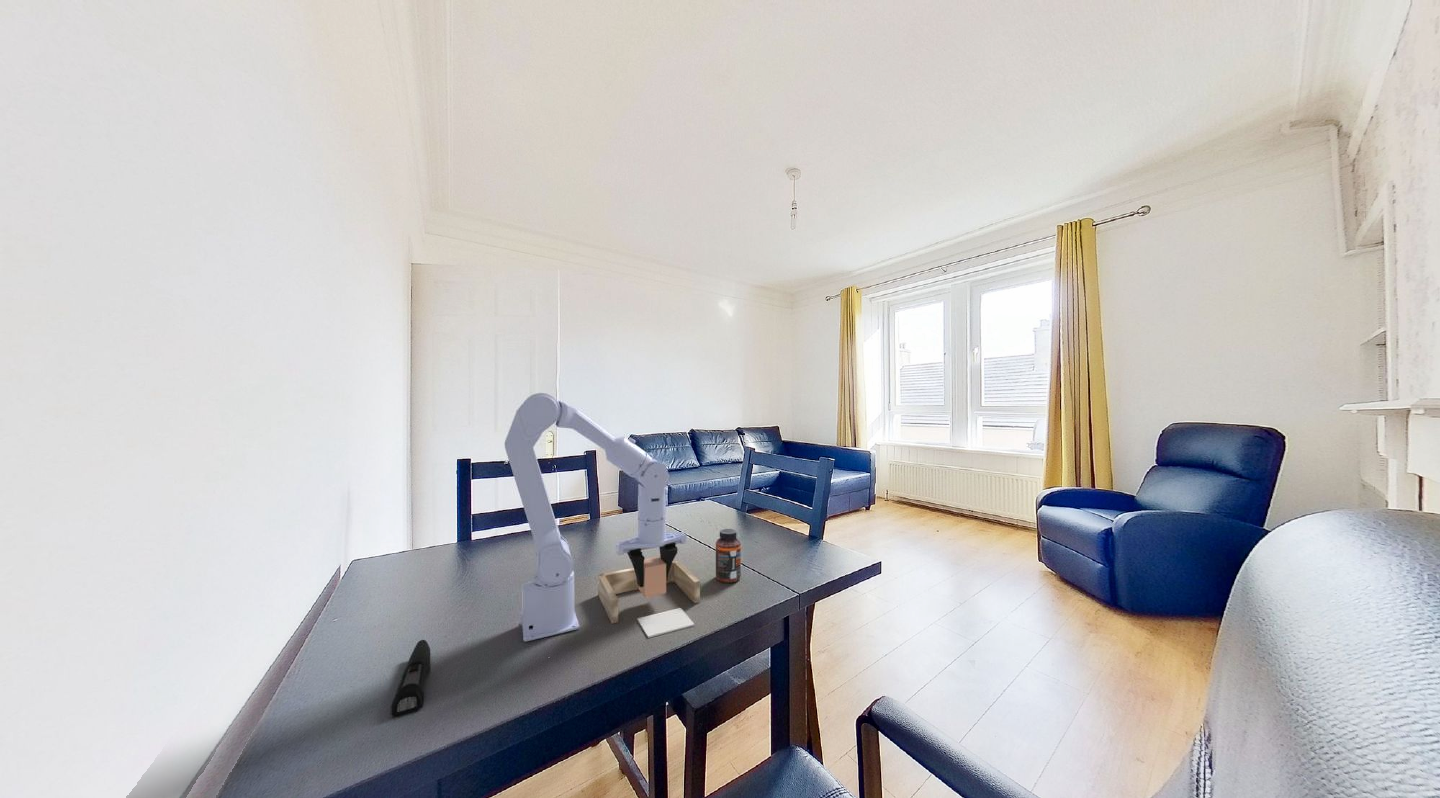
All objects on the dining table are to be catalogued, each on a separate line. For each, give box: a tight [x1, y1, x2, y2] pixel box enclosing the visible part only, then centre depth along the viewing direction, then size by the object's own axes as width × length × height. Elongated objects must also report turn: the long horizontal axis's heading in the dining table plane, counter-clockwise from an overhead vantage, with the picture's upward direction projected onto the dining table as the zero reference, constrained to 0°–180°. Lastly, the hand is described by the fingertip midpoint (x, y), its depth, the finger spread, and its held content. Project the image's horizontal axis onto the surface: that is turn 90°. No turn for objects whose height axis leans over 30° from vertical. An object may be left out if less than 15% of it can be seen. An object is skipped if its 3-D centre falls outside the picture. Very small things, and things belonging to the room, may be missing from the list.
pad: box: [636, 607, 695, 639], centre depth 82 cm, size 9×7×1 cm
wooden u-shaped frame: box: [597, 559, 701, 624], centre depth 92 cm, size 18×13×4 cm
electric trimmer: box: [390, 639, 431, 719], centre depth 65 cm, size 4×16×3 cm, turn 28°
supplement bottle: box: [715, 528, 742, 584], centre depth 102 cm, size 6×6×11 cm
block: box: [638, 556, 667, 598], centre depth 89 cm, size 4×4×6 cm
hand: (652, 582), depth 89 cm, fingers closed on block, 4 cm apart
